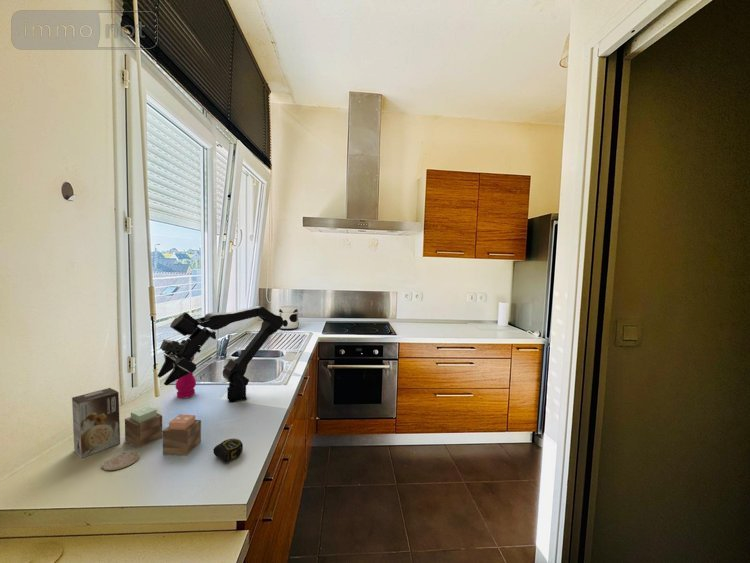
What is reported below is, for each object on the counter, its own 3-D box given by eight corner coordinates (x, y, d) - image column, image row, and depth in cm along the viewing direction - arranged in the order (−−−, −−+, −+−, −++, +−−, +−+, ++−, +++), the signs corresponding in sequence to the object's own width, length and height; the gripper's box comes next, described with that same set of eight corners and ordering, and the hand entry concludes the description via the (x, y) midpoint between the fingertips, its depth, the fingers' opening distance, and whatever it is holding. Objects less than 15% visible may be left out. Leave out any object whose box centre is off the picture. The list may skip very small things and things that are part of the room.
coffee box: (112, 436, 98) (111, 386, 97) (120, 443, 94) (120, 391, 94) (72, 451, 90) (71, 397, 89) (80, 459, 87) (79, 403, 86)
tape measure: (212, 457, 90) (212, 444, 90) (235, 446, 95) (235, 434, 95) (224, 467, 86) (224, 454, 85) (247, 455, 91) (247, 443, 91)
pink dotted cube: (180, 428, 96) (179, 414, 95) (195, 429, 95) (195, 414, 95) (169, 437, 91) (168, 421, 91) (185, 438, 91) (184, 422, 90)
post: (150, 430, 102) (149, 409, 101) (162, 436, 99) (162, 415, 98) (125, 441, 96) (124, 419, 95) (137, 448, 92) (137, 425, 92)
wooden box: (178, 440, 97) (178, 418, 97) (200, 441, 97) (200, 419, 96) (162, 454, 90) (162, 430, 90) (186, 455, 90) (186, 432, 89)
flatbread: (135, 450, 92) (135, 447, 92) (142, 462, 87) (142, 458, 87) (98, 463, 85) (98, 460, 85) (104, 476, 81) (104, 473, 80)
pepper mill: (171, 396, 127) (171, 348, 126) (189, 390, 134) (189, 344, 133) (182, 400, 124) (182, 351, 123) (199, 393, 130) (199, 346, 129)
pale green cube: (148, 419, 100) (148, 405, 100) (156, 424, 98) (156, 409, 98) (130, 426, 96) (130, 411, 96) (139, 431, 94) (139, 415, 93)
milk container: (273, 328, 260) (274, 306, 259) (292, 325, 271) (293, 305, 270) (283, 331, 247) (283, 309, 246) (302, 329, 259) (303, 307, 258)
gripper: (168, 326, 116) (134, 362, 110) (183, 335, 104) (145, 377, 97) (193, 342, 123) (162, 377, 116) (210, 352, 110) (176, 393, 103)
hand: (161, 380), depth 108 cm, fingers open, 9 cm apart
